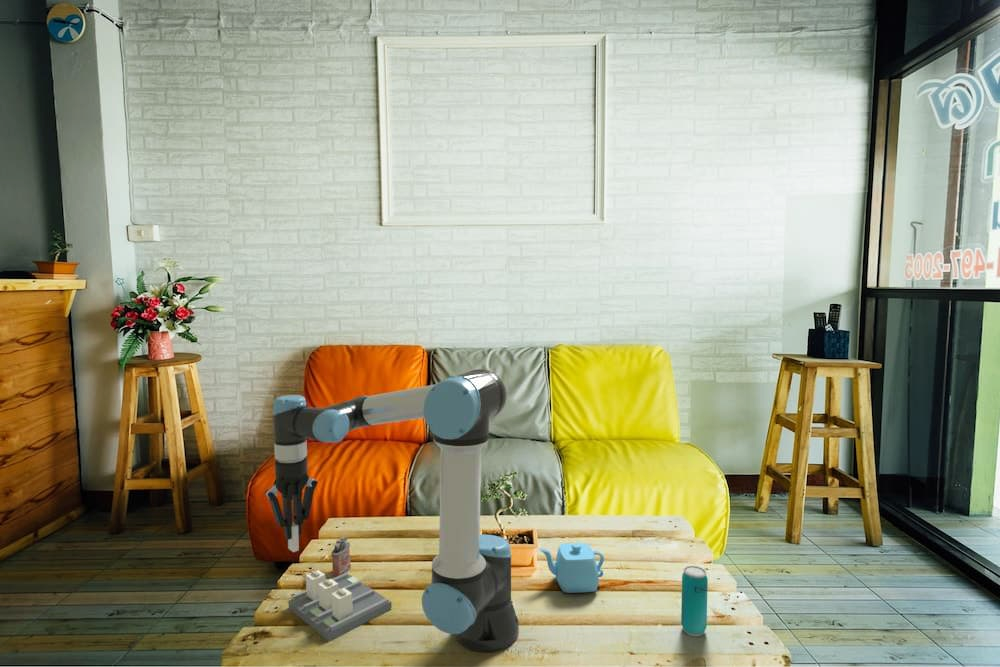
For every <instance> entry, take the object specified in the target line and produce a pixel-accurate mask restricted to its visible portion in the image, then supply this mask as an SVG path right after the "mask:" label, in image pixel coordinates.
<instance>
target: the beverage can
mask: <svg viewBox="0 0 1000 667" xmlns="http://www.w3.org/2000/svg"><path fill="white" fill-rule="evenodd" d="M708 580H709V579H708V576H707V571H706V569H704V568H703V567H699V566H695V565H689V566H688V565H687V566H685V567H684V568H683V572H682V574H681V612H680V614H681V615H680V616H681V618H680V619H681V620H680V621H681V622H680V624H681V626H682V629H683V631H684V633H685V634H687V635H688V636H690V637H691V636H692V637H695V638H696V637H697V638H698V637H701V636H703V635H704V633H705V632H706V630H707V625H708V623H707V622H708V619H707V618H708Z"/></svg>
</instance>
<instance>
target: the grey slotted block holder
mask: <svg viewBox="0 0 1000 667" xmlns="http://www.w3.org/2000/svg"><path fill="white" fill-rule="evenodd" d="M331 579H332V578H331ZM332 580H334V581H335V582H337V583H338V587H339V589H343V588H345V589H347V590H348V591H350V592H351V593H352V603H353V615H351V616H349V617H346V618H344V619H342V620H340V621H339V620H338V619H336V618H335V617H334V616H332V608H331V609H329V610H327V611H326V610H325V609H324V608H322V607H321V606H320V605H319V598H318V599H316V600H314V601H313V600H312V599H311V598H309V597H308V596H307V592H306V589H305V590H302V591H300V592H297V593H296V594H293V595H291V599H290V600H288V602H287V603H288V610H290V611H291V612H292V611H293V612H292V613H294V615H296V616H297V617H298V618H299V619H301V620H302V621H303V622H304V623H306V625H308V626H309V627H310V628H311V629H313V631H315V632H316V633H317V634H318V635H320V636H321V637H322V638H324V640H326V641H327V642H330V641H332V640H334V639H336V638H338V637H341V636H342V635H344V634H346V633H348V632H350V631H351V630H354V629H355V628H358V627H360V626H361V625H363V624H364V625H365V623H367V622H369V621H372V620H374V619H375V618H377V617H379V616H381V615H382V614H384V613H387V612H389V611H391V610H392V609H393V608H392V601H391V600H389V599H388V598H386V597H385V596H383V595H382V594H380V593H378V591H375V590H374V589H373V588H371V587H369V586H368V585H366V584H365V583H363V582H361V581H360V580H359V579H358V578H357V577H355V576H352V575H351V574H349V572H348V573H344V574H342V575H340V576H337V577H335V578H333V579H332ZM391 608H392V609H391ZM390 609H391V610H390ZM388 610H389V611H388Z"/></svg>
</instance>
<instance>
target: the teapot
mask: <svg viewBox="0 0 1000 667" xmlns="http://www.w3.org/2000/svg"><path fill="white" fill-rule="evenodd" d="M538 550H539V551H540V552H541V553H543V554H544V555H545V558H546V562H547V566H548V569H549V571H550V572H551V574H553V575H554V576H555V578H556V581H557V584H558V586H559V587H560V590H561V591H562V592H563V593H567V594H572V593H591V592H593V593H594V592H596V591H597V590H598V588H599V578H602V577H603V575H604V570H603V569H601V568H602V566H603V563H604V561H605V557H604V554H603V553H602V552H601V551H599V550H593V549H592V547H591V546H590V545H589V543H587V542H570V543H569V542H568V543H565V542H564V543H560V544H559V546H558V549H557V553H556V558H555V561H554V560H553V557H552V553H551V551H549V550H548V549H546V548H538ZM595 555H598V556H599V557H600V558H599V561H598V564H597V561H596V557H595Z"/></svg>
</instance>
